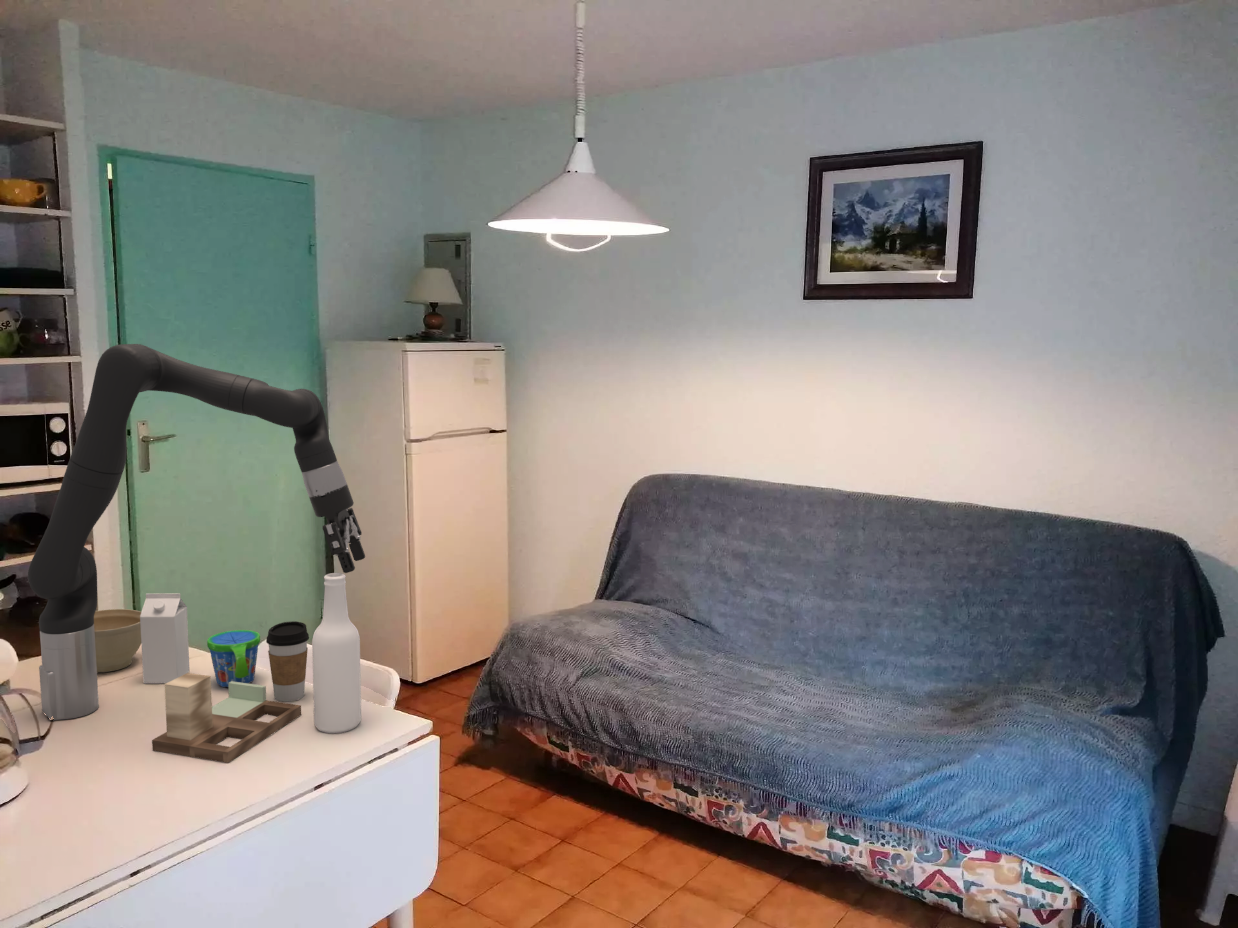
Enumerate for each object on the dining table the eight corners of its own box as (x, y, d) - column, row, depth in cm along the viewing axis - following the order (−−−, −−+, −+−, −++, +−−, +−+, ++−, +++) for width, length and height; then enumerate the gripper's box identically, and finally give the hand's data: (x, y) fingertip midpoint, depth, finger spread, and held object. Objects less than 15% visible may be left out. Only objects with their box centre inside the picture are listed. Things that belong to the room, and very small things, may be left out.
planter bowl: (91, 684, 199) (88, 635, 198) (52, 668, 208) (49, 621, 206) (163, 663, 213) (160, 617, 211) (123, 648, 221) (121, 604, 220)
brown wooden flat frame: (228, 762, 165) (227, 752, 165) (152, 750, 170) (152, 739, 169) (301, 714, 186) (301, 705, 186) (232, 704, 191) (232, 695, 190)
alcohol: (328, 713, 187) (325, 567, 183) (369, 718, 186) (367, 571, 181) (305, 731, 179) (301, 579, 175) (347, 736, 177) (344, 582, 173)
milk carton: (156, 672, 207) (152, 588, 204) (189, 671, 208) (186, 588, 205) (143, 684, 200) (138, 598, 197) (177, 683, 201) (173, 598, 198)
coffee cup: (317, 689, 199) (315, 621, 197) (299, 705, 191) (298, 634, 189) (279, 687, 200) (277, 619, 198) (260, 702, 192) (258, 632, 190)
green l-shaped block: (237, 727, 180) (236, 702, 179) (202, 721, 182) (201, 697, 181) (266, 709, 189) (265, 685, 188) (232, 704, 191) (231, 681, 190)
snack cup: (207, 673, 207) (205, 629, 206) (258, 666, 212) (256, 623, 210) (210, 698, 193) (208, 651, 192) (265, 691, 198) (263, 645, 196)
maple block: (190, 740, 170) (187, 687, 168) (166, 736, 171) (164, 684, 169) (212, 726, 175) (210, 675, 174) (190, 723, 177) (187, 672, 175)
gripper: (319, 487, 189) (346, 561, 192) (297, 501, 175) (327, 581, 178) (354, 476, 189) (381, 550, 192) (336, 490, 175) (364, 570, 178)
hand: (355, 565), depth 185 cm, fingers open, 8 cm apart
